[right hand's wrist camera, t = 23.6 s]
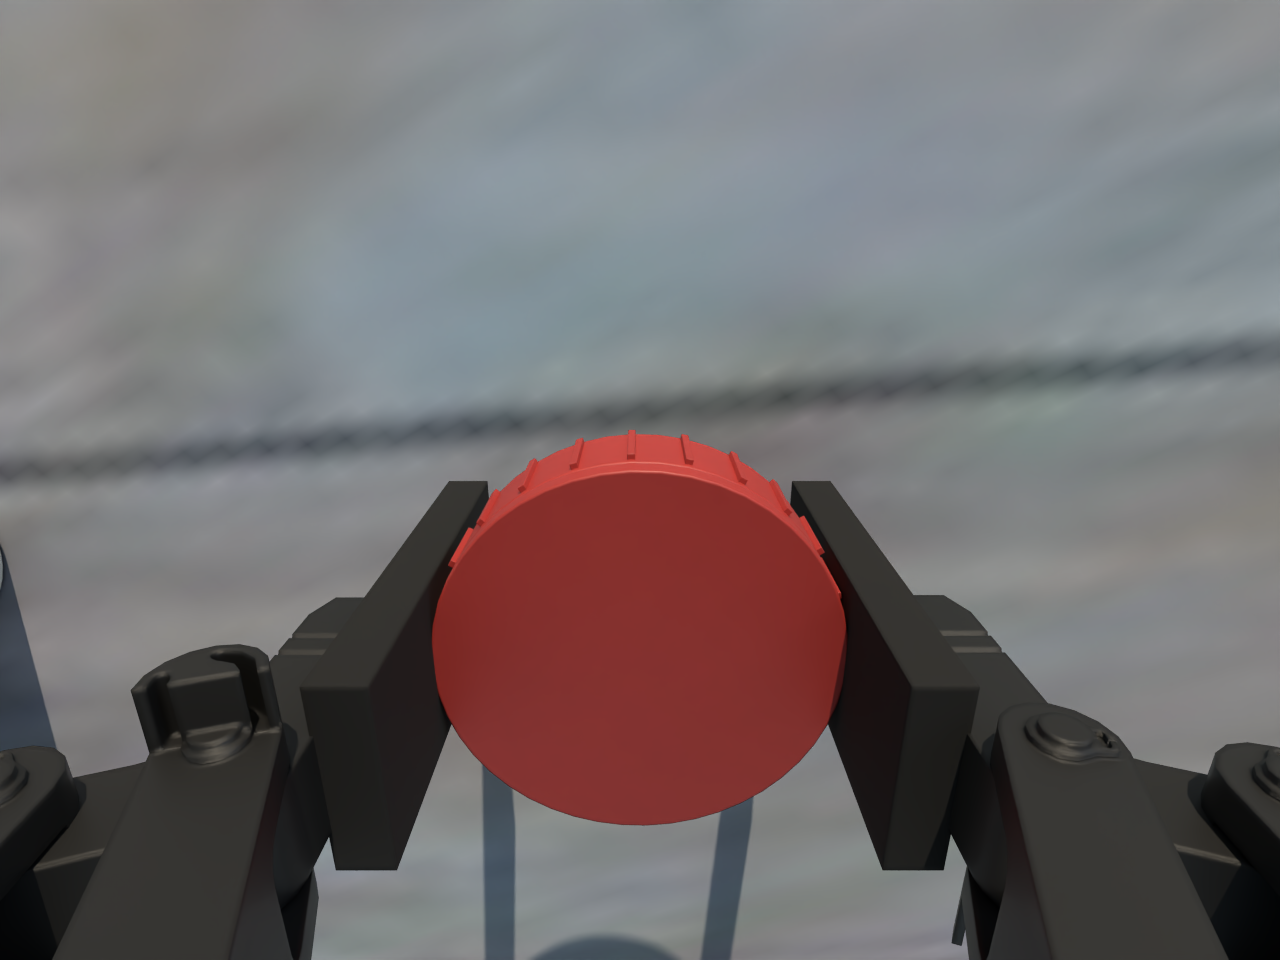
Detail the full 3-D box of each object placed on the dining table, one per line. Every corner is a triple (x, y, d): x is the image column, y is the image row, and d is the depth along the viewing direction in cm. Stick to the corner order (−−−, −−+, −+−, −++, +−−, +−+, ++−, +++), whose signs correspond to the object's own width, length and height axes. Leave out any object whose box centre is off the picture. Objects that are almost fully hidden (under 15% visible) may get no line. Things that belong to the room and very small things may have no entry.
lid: (857, 447, 11) (895, 487, 9) (790, 765, 13) (811, 841, 11) (456, 411, 11) (423, 445, 9) (454, 740, 13) (428, 815, 11)
